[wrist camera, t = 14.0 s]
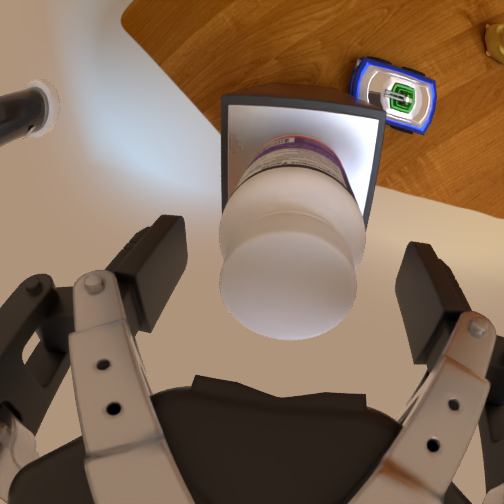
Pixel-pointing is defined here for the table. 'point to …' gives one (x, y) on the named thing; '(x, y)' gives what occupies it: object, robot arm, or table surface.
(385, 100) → the toy car
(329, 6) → the table surface
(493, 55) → the mug
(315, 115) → the tall grey box
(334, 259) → the pill bottle
